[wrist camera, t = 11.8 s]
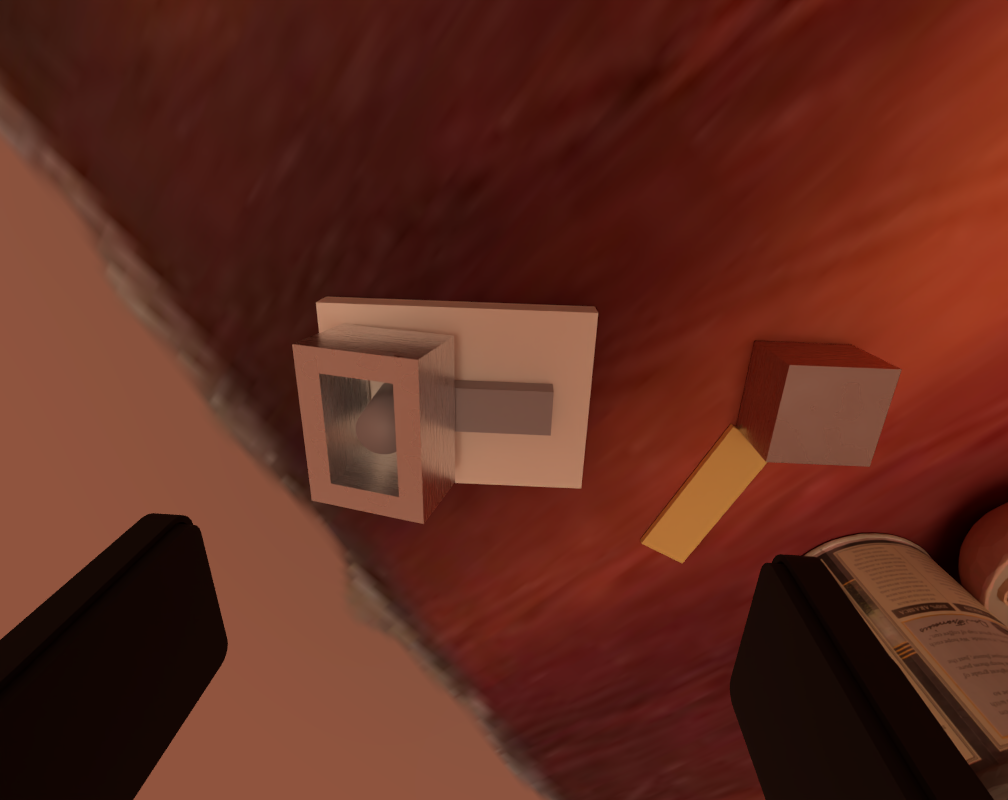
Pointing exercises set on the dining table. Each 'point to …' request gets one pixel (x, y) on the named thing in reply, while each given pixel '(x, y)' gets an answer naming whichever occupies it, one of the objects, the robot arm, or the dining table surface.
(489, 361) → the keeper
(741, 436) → the yellow flat bar
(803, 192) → the dining table surface
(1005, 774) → the coffee can
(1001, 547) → the mitochondrion model
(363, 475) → the link
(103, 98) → the dining table surface
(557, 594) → the dining table surface
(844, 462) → the block
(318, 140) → the dining table surface
